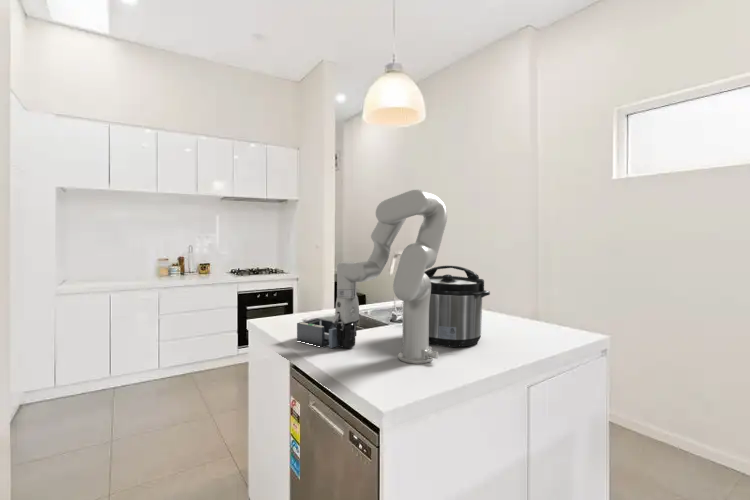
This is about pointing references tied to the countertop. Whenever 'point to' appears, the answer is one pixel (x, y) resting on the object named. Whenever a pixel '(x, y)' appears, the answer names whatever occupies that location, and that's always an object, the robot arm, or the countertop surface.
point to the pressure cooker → (455, 308)
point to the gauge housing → (314, 331)
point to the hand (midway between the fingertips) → (346, 337)
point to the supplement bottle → (348, 336)
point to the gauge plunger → (330, 335)
